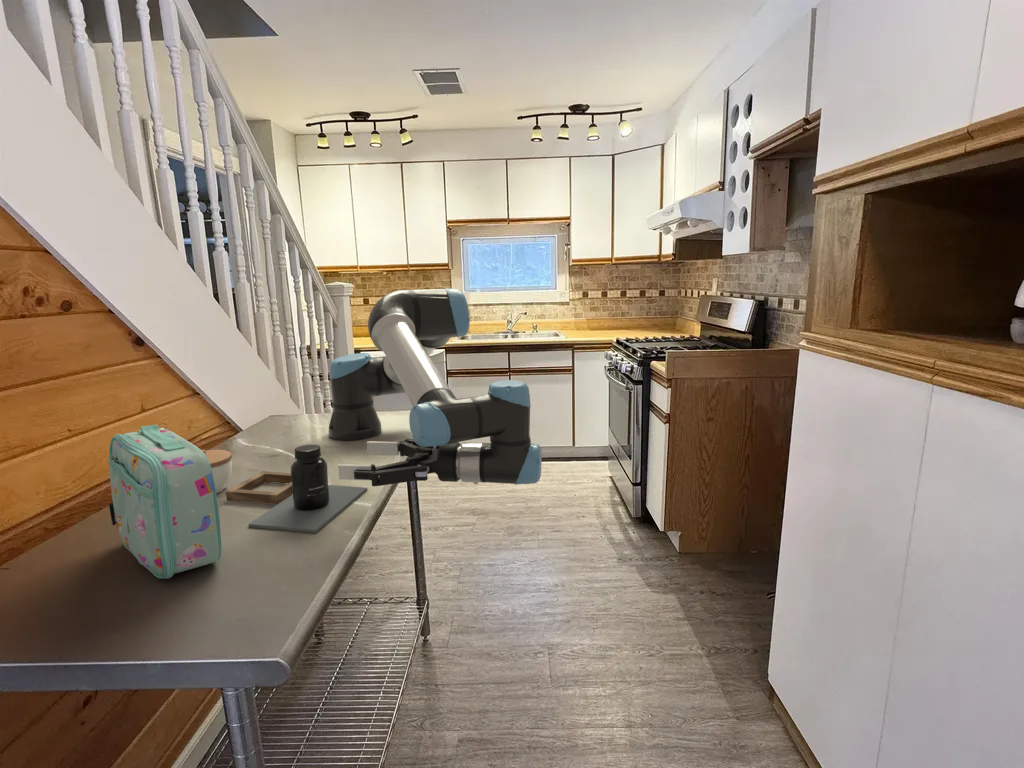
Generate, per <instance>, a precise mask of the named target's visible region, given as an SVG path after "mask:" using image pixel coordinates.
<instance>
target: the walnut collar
mask: <svg viewBox="0 0 1024 768" xmlns="http://www.w3.org/2000/svg"><path fill="white" fill-rule="evenodd" d="M264 482H265V483H270V482H279V483H278V484H284V483H288V484H285V485H284V486H282V487H280V488H279V489H278V490H276V491H267V490H266V491H264V490H255V489H256V488H258V487H260V486H262V485H263V484H265V483H264ZM261 484H262V485H261ZM259 485H260V486H259ZM254 488H255V489H254ZM252 489H253V490H252ZM292 494H293V491H292V479H291V472H281V471H280V472H279V471H267V470H266V471H263V470H262V471H261V472H259V473H256V474H255V475H254V476H251V477H250V478H248V479H246V480H244V481H242V482H241V483H239V484H237V485H235V486H233V487H232V488H229V489H227V490H226V491H225V496H226V501H230V502H240V501H242V502H243V503H255V504H265V505H266V504H267V505H268V504H269V505H278V504H279V503H281V502H282V501H284V500H285V499H287V498H288V497H290V496H291V495H292ZM242 502H241V503H242Z"/></svg>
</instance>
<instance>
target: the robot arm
mask: <svg viewBox="0 0 1024 768" xmlns="http://www.w3.org/2000/svg"><path fill="white" fill-rule="evenodd" d="M468 305H469V304H468V301H467V298H466V296H465V294H464V293H463V291H461V290H460V289H458V288H449V287H446V288H436V289H435V288H434V289H433V288H429V289H398V290H394V291H391V292H388V293H386V294H385V295H383V296H382V297H381V298H379V300H377V302H376V303H375V304H374V305H373V306H372V309H371V311H370V313H369V316H368V321H367V330H368V335H369V337H370V340H371V342H372V344H373V345H374V346H375V348H377V350H379V351H381V352H383V354H384V355H385V356H375V357H374V356H373V357H372V356H371V354H370V353H367V352H360V353H359V352H358V353H351V354H347V355H343V356H340V357H337V358H334V359H333V360H332V361H331V362H330V364H329V379H330V389H331V399H332V400H331V401H332V412H331V417H330V420H329V424H328V436H329V438H331V439H333V440H339V441H355V440H361V439H362V440H363V439H368V438H371V437H374V436H377V435H379V434H380V433H381V432H382V430H383V429H382V423H381V420H380V418H379V415H378V413H377V410H376V408H375V404H374V397H380V396H386V395H387V396H388V395H395V394H396V395H397V394H404V393H405V394H406V396H407V398H408V400H409V402H410V404H411V405H412V407H411V409H410V410H409V415H408V416H409V418H408V419H409V429H410V432H411V437H412V438H409V437H407V438H404V440H401V441H399V442H398V441H372V440H369V441H366V452H367V455H368V456H395V457H397V456H400V458H401V457H407V458H406V459H405V460H402V461H398V462H397V461H396V462H394V463H393V462H392V463H388V464H384V465H379V466H376V464H374V463H371V464H353V463H351V464H350V463H349V464H347V463H346V464H345V463H339V464H338V465H337V469H338V472H337V473H338V479H339V480H340V481H341V480H345V481H346V480H347V481H370V482H371V487H380V486H388V485H395V484H401V483H408V482H417V481H419V482H421V481H422V482H426V481H428V480H429V479H428V478H429V477H428V475H430V474H435V475H437V478H438V480H439V482H440V481H441V482H446V483H448V482H449V483H451V482H453V483H457V482H459V481H461V482H464V483H473V484H474V485H478V484H479V483H487V484H488V483H490V484H491V483H494V484H509V485H530V484H531V485H532V484H537V483H538V482H539V481H540V480H541V476H542V462H543V459H542V447H541V445H540V444H537V443H534V442H532V441H531V434H530V433H531V432H530V431H531V430H530V429H531V428H530V427H531V426H530V425H531V396H530V388H529V385H527V383H526V382H524V381H521V380H516V379H515V380H514V379H512V380H511V379H503V380H497V381H492V382H491V383H489V385H488V391H487V394H485V395H477V396H470V397H462V398H457V397H456V396H455V395H454V392H453V391H452V390H451V388H450V387H449V385H448V383H447V382H446V381H445V379H444V377H443V376H442V374H441V372H440V370H439V369H438V367H437V366H436V365H435V363H434V361H433V360H432V358H431V357H430V355H431V354H432V353H433V352H434V350H435V349H439V348H441V347H443V346H445V345H446V344H447V343H448V342H449V340H450V339H451V338H461V337H465V336H466V335H467V334H468V333H469V328H470V309H469V306H468ZM488 437H489V441H490V442H476V441H475V442H472V441H471V440H477V439H483V438H488ZM468 441H469V442H468ZM460 442H461V443H462V444H461V443H460Z"/></svg>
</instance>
